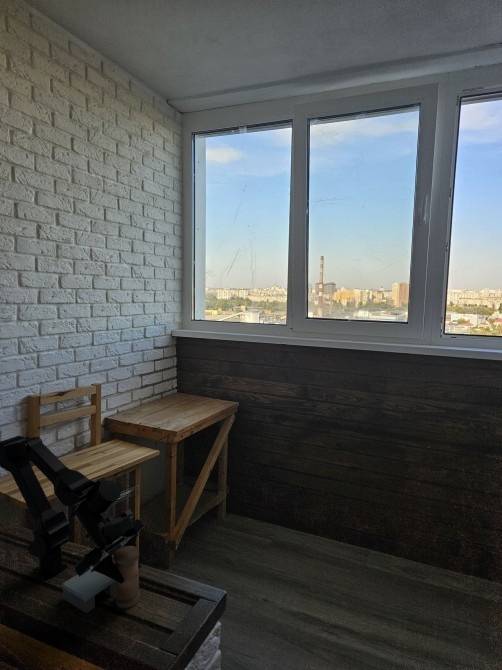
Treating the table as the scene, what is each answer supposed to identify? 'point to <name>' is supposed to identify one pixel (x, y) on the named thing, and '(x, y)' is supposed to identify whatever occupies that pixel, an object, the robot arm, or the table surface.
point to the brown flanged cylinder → (127, 576)
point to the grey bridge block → (87, 589)
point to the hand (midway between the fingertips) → (131, 575)
